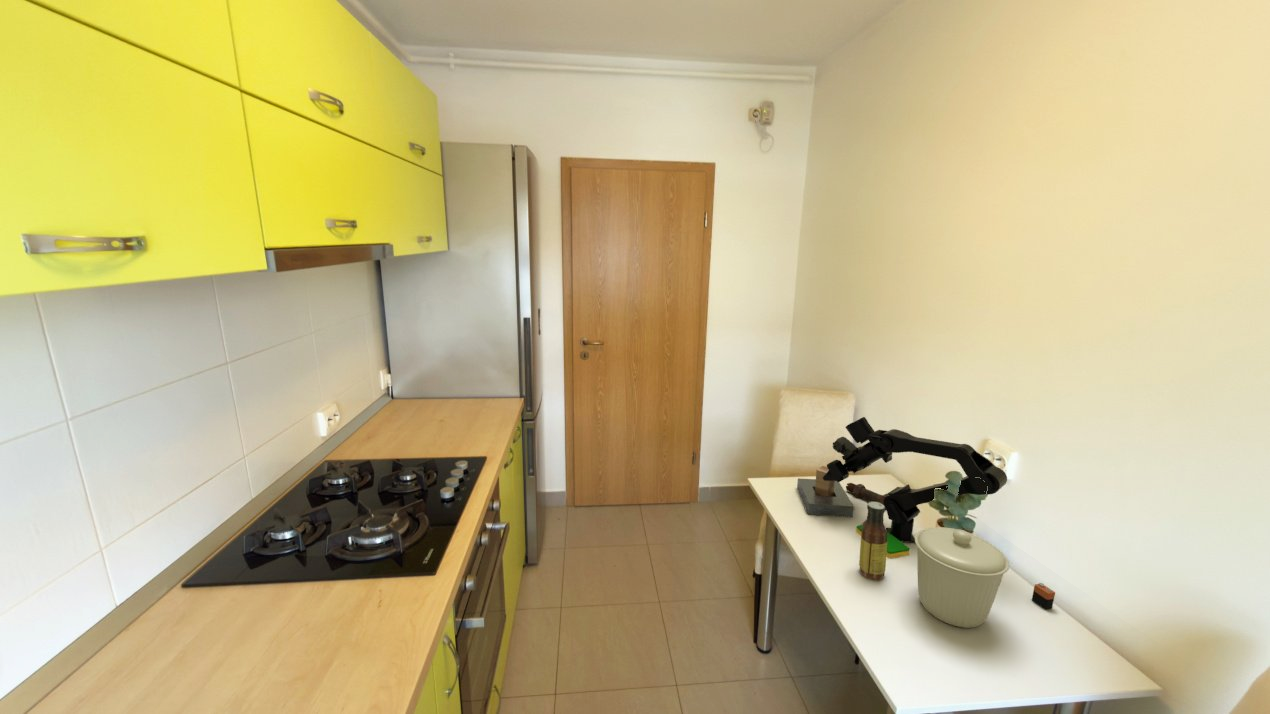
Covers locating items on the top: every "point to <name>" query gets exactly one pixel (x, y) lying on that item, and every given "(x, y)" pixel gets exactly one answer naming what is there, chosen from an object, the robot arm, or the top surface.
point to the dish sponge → (891, 545)
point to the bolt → (865, 493)
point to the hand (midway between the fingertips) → (831, 475)
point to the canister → (958, 575)
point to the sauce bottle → (873, 543)
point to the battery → (1043, 596)
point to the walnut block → (823, 483)
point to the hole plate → (825, 500)
